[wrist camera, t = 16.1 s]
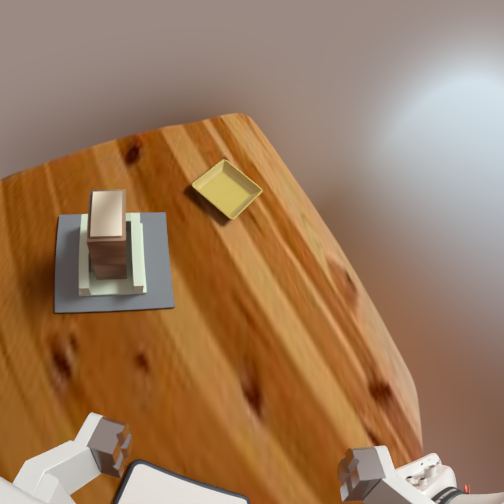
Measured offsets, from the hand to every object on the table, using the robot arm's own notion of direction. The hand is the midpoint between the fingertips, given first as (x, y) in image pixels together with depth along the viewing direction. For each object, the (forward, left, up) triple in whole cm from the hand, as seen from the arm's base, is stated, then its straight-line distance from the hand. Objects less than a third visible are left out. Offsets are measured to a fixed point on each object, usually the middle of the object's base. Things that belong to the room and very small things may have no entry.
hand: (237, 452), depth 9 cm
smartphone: (+1, +14, -29) cm, 32 cm away
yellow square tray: (-13, -31, -29) cm, 44 cm away
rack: (+5, -20, -28) cm, 35 cm away
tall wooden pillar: (+5, -20, -28) cm, 34 cm away
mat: (+5, -20, -28) cm, 35 cm away
